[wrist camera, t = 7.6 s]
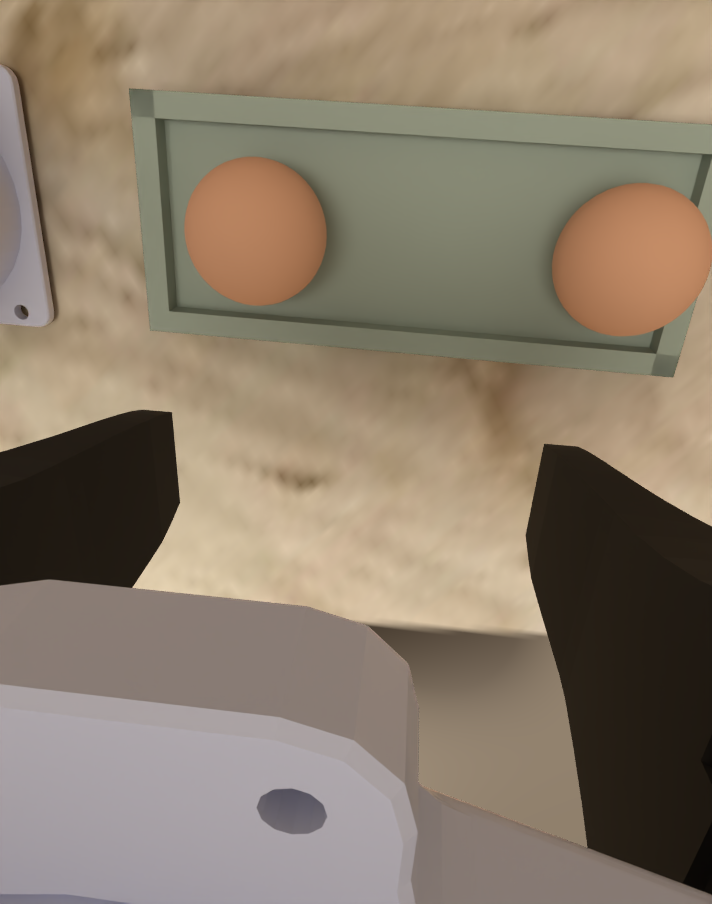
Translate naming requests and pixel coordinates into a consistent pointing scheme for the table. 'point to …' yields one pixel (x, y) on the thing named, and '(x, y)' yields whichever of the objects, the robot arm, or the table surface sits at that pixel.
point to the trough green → (412, 222)
